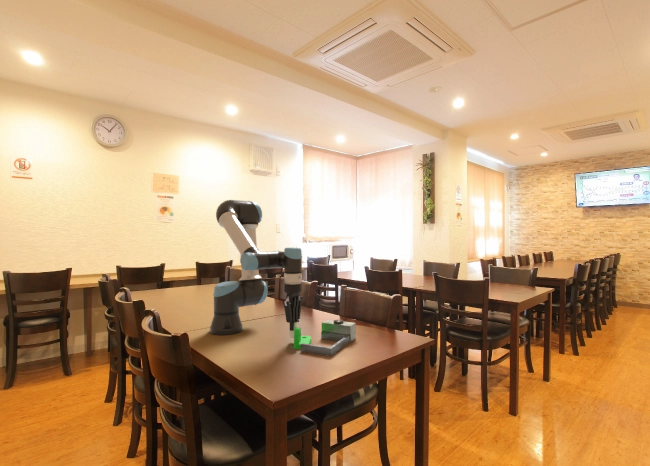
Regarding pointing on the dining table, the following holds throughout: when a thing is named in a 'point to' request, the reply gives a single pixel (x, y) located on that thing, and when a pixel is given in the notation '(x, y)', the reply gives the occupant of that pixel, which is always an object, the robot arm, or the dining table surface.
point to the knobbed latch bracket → (333, 337)
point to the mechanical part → (300, 338)
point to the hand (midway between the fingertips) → (293, 337)
